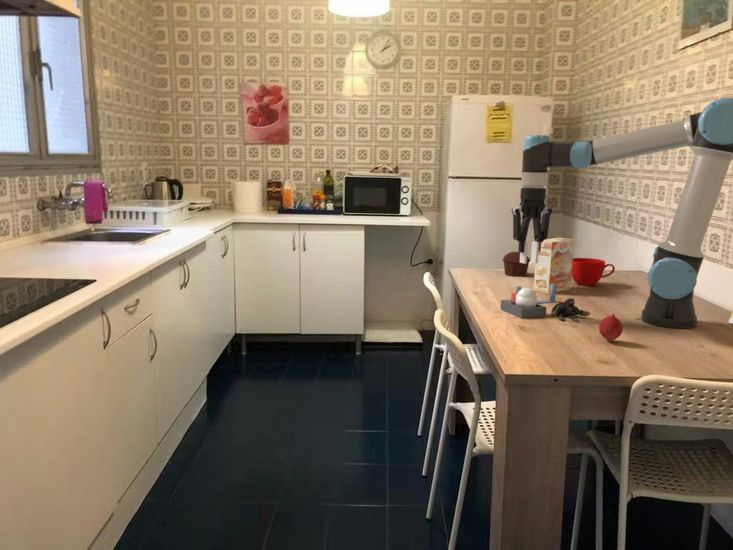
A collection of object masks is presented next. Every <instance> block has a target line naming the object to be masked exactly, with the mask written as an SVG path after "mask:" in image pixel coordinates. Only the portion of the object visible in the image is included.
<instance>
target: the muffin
mask: <svg viewBox="0 0 733 550" xmlns="http://www.w3.org/2000/svg"><path fill="white" fill-rule="evenodd" d="M502 261H503V267H504V268H503V269H504V275H506V276H507V277H513V278H514V277H515V278H522V277H526V276H527V274H528V270H529V265H530V263H531V258H530V257H529V256H528V255H527V264H524V263H520V252H519V251H511V252H508V253H506V254H505V255H504V256H503V258H502Z"/></svg>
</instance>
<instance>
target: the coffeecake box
mask: <svg viewBox="0 0 733 550" xmlns="http://www.w3.org/2000/svg"><path fill="white" fill-rule="evenodd" d="M574 244H575V239H573V238H566V237H565V238H564V237H553V238H547V239H546V240H544V241H543V242H541V250H540V252H538V263H534V265H535V266H534V277H533V278H534V279H533V289H532V290H533V291H534V292H539V293H543V294H546V295H547V294H548V295H550V289H551V284H555V285H556V293H557V292H562V291H568V290H571V280H572V275H571V271H572V260H573V258H574V257H573V256H574V248H575V247H574V246H575V245H574Z"/></svg>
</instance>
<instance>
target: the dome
mask: <svg viewBox="0 0 733 550" xmlns="http://www.w3.org/2000/svg"><path fill="white" fill-rule="evenodd" d="M537 301H538V296H537V295H536V291H533V289H532V288H529V287H523V288H521V290H520V291H519V292H518V294H517V295H516V306H519V307H521V308H530V307H536V304H537Z"/></svg>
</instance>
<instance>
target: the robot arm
mask: <svg viewBox="0 0 733 550" xmlns="http://www.w3.org/2000/svg"><path fill="white" fill-rule="evenodd" d="M523 141H524V142H523V149H522V166H521V168H522V170H521V182H520V183H521V186H522V187H521V188H520V195H519V196H520V198H519V199H520V202H519V205H518V206H517V207H515V208H514V207H513V208H511V213H512V218H513V219H512V221H513V222H512V232H513V233H512V240H516V241H517V242H518V250H517V252H520V263H524V264H527V256H528V248H529V247H528V245H529V242H526V241H527V236H528V232H529V227H530V223H531V220H532V226H533V227H532V228H533V238H534V241H531V254H530V263H533V264H535V263H538V252H540V250H541V242H543V241H544V240H546V239H548V234H549V229H550V228H549V227H550V219H551V215H552V213H553V208H551V207H550V208H549V207H547V206H546V203H545V200H546V196H547V189H546V187H547V186H548V185H547V184H548V169H549V168H558V169H559V168H561V169H585V168H588V167H591V166H595V165H599V164H604V163H611V162H613V161H619V160H624V159H629V158H634V157H635V158H636V157H639V156H644V155H650V154H654V153H658V152H664V151H669V150H670V151H671V150H676V149H679V148H680V149H681V148H686V147H689V148H691V150H692V151H693V153H694V154H693V155H694V156H693V159H692V162H691V165H690V168H689V172H688V175H687V177H686V180H685V183H684V187H683V189H682V192H681V194H680V195H681V196H680V198H679V201H678V205H677V207H676V209H675V210H676V211H675V214H674V217H673V218H672V222H671V226H670V227H669V232H668V235H667V238H666V240H664V241H663V242H662V243H660V244H658V246H656V247H655V248H654V252H653V255H652V256H653V262H652V264H651V267H650V268H649V271H648V272H647V282H648V284H649V286H650V287H649V288H650V290H649V296H648V299H647V300H646V303H645V305H644V308H643V309H642V311H641V315H640V319H641V321H643V322H644V323H646V324H650V325H653V326H657V327H658V326H659V327H662V328H663V327H664V328H671V329H690V328H691V329H692V328H696V326H697V324H698V323H697V322H698V316H697V315H696V311H695V310H696V309H695V303H694V293H695V287H696V285H697V283H698V282H697V281H698V280H697V279H698V275H699V272H700V270H701V266H702V263H703V261H704V258H705V254H704V253H703V252H702V250H701V247H702V245H703V242H704V240H705V236H706V233H707V230H708V228H709V225H710V222H711V219H712V216H713V213H714V211H715V207H716V205H717V202H718V199H719V196H720V193H721V191H722V187H723V185H724V182H725V179H726V176H727V174H728V171H729V167H730V165H731V162H732V161H733V97H724V98H718V99H715V100H714V101H711V102H710V103H709V104H707V105H706V106H705V107H704V109H703V110H702V111H700V112H697V113H693V114H689V115H687V116H686V118H685V119H681V120H678V121H672V122H669V123H665V124H660V125H655V126H651V127H647V128H646V127H645V128H642V129H641V128H640V129H637V130H632V131H629V132H623V133H619V134H615V135H610V136H605V137H601V138H597V139H592V140H587V141H559V142H558V141H551V138H550V136H549V135H547V134H544V135H543V134H533V135H529V134H528V135H527V136H525V138H524V140H523ZM521 214H522V215H521Z"/></svg>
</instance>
